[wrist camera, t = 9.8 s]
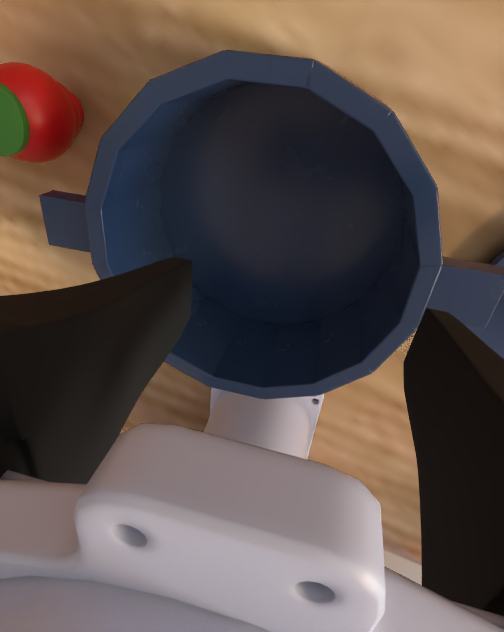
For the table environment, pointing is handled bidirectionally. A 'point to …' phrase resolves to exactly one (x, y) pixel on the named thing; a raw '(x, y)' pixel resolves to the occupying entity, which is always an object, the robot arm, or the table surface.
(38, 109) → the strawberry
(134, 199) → the pot
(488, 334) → the lid
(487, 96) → the table surface
